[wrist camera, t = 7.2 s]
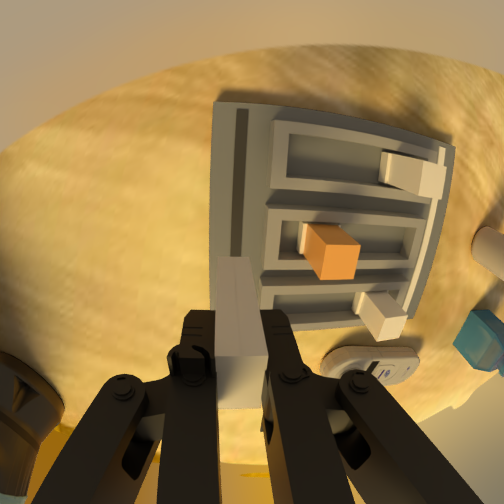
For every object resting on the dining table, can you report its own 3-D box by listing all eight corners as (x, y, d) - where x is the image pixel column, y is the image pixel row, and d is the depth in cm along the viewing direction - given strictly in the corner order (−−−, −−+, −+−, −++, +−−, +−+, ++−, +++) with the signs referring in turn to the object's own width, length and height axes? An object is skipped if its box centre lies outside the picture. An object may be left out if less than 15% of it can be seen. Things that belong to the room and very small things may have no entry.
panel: (210, 324, 25) (210, 343, 23) (213, 103, 18) (212, 98, 15) (407, 312, 28) (419, 326, 26) (447, 145, 21) (466, 148, 18)
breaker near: (378, 180, 20) (415, 195, 16) (381, 151, 19) (420, 159, 15) (406, 185, 20) (444, 200, 16) (409, 157, 20) (449, 167, 15)
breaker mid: (296, 248, 22) (315, 280, 17) (299, 219, 21) (321, 244, 16) (331, 249, 22) (357, 278, 18) (335, 221, 21) (364, 245, 17)
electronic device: (429, 419, 25) (338, 441, 21) (397, 371, 34) (310, 374, 30) (454, 391, 23) (367, 410, 19) (416, 344, 32) (330, 341, 28)
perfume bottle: (488, 309, 31) (532, 351, 21) (471, 340, 34) (509, 384, 23) (470, 310, 30) (518, 359, 20) (452, 343, 33) (493, 394, 22)
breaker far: (351, 308, 25) (373, 342, 20) (357, 286, 24) (382, 318, 19) (377, 306, 25) (401, 337, 21) (383, 285, 24) (410, 314, 20)
